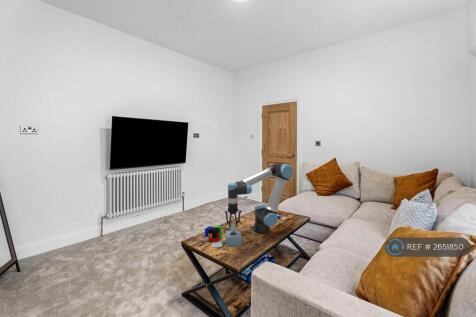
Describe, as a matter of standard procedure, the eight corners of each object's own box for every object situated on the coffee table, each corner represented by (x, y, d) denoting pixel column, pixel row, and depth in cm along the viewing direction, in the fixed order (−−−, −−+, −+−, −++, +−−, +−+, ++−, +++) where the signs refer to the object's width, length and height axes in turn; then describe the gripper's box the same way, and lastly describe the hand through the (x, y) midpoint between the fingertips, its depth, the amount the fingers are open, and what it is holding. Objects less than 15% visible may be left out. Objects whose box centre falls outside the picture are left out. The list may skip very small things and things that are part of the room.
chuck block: (240, 238, 185) (240, 230, 184) (241, 245, 173) (241, 236, 173) (221, 239, 184) (221, 231, 183) (221, 246, 172) (221, 237, 171)
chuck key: (234, 234, 182) (234, 215, 181) (235, 239, 174) (235, 219, 173) (231, 235, 182) (230, 216, 181) (231, 239, 174) (231, 219, 173)
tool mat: (221, 242, 179) (221, 241, 179) (222, 247, 171) (221, 246, 171) (211, 242, 179) (211, 242, 179) (211, 247, 171) (211, 247, 171)
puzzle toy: (205, 240, 182) (204, 228, 182) (211, 236, 191) (211, 224, 191) (215, 242, 178) (215, 230, 178) (221, 237, 187) (221, 226, 187)
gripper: (242, 201, 180) (242, 228, 182) (222, 201, 179) (223, 229, 181) (243, 203, 173) (243, 232, 175) (222, 204, 171) (223, 233, 173)
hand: (233, 231), depth 178 cm, fingers closed on chuck key, 3 cm apart
